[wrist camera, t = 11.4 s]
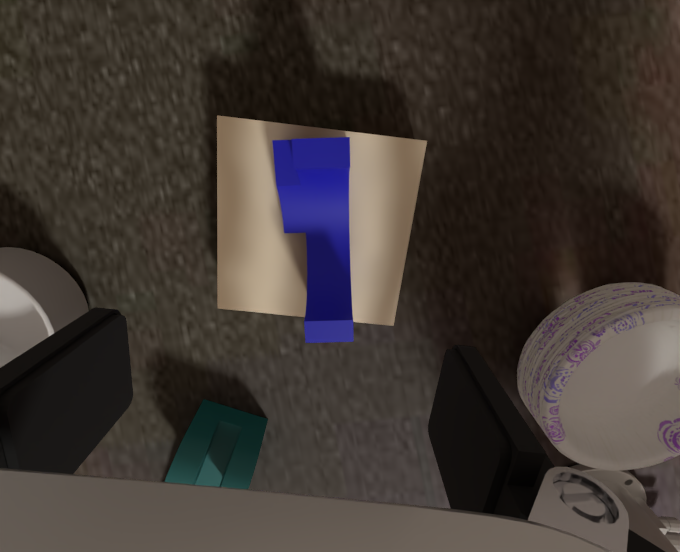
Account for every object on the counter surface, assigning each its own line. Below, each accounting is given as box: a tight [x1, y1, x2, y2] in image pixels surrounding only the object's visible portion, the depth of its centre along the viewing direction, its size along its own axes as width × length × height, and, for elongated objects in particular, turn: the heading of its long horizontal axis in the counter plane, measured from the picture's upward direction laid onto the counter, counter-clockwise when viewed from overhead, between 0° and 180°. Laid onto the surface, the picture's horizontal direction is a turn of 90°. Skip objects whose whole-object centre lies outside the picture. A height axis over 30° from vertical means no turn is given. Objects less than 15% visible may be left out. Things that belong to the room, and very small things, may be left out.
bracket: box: [165, 399, 268, 489], centre depth 36 cm, size 18×7×8 cm, turn 158°
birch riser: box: [217, 115, 427, 326], centre depth 28 cm, size 14×14×4 cm
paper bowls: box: [517, 282, 680, 471], centre depth 31 cm, size 15×15×8 cm
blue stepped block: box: [272, 137, 353, 343], centre depth 24 cm, size 12×4×6 cm, turn 2°
